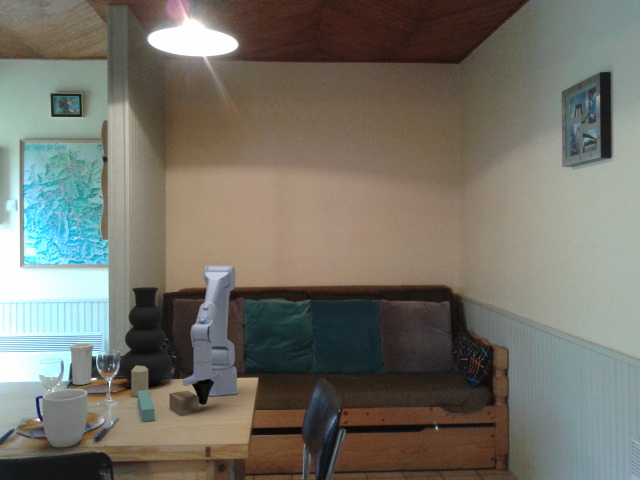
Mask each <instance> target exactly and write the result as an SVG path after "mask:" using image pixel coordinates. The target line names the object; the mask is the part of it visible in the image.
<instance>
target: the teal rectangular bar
mask: <svg viewBox="0 0 640 480" xmlns="http://www.w3.org/2000/svg"><path fill="white" fill-rule="evenodd" d="M137 405H138V409H139V414H140V418H141V422H142V423H145V422H152V421H153V422H154V421H155V406H154V403H153V400H152V397H151V394H150V390H149V389H148V390H143V391H138V397H137Z"/></svg>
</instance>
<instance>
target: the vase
mask: <svg viewBox="0 0 640 480" xmlns="http://www.w3.org/2000/svg"><path fill="white" fill-rule="evenodd" d="M158 290H159V287H154V286H151V287H150V286H149V287H148V286H145V287H142V286H141V287H133V288H132V292H133V293H134V301H135V302H134V303H135V306H134V305H133V307H132V309H130V311H129V313H128V321H129V323H130V325H131V326H132V327H131V328H130V329H129V330H128V331H127V332H126V334H125V337H124V342H125V344H126V346H127V347H128V348H129V349H131V350H129V351H127V352H126V353H125V354H124V355H123V356H122V357H121V359H120V361H119V364H120V368H119V367H118V368H119V369H118V370H119V372H120V374H121V376H122V377H123V378H124V379H126V380H127V381H129V384H130V383H131V370H132V369H133V368H134V367H135V366H136V365H137V366H145V367H146V368H147V369H148V387H149V386H154V385H158V384H160V383H162V380H163V379H164V378H165V377H166V376H167V375H168V374H169V372H170V370H171V369H172V358H171V356H170V355H169V353H168V352H167V351H165V350H163V349H162V348H161V347H163V345H164V344H165V342H166V336H167V335H166V332H165V331H164V330H163V328H161V327H160V326H159V324H160V323H161V322H162V319H163V312H162V310H161V309H160V308H159V307H158V305H156V296H157V292H158Z"/></svg>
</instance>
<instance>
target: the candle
mask: <svg viewBox="0 0 640 480" xmlns="http://www.w3.org/2000/svg"><path fill="white" fill-rule="evenodd" d="M130 385H131V386H130V387H131V391H130V393H131V396H132V397H134V398H138V391H143V390H149V386H148V369H147V368H146V367H145V366H137V365H136V366H135V367H134V368H133V369H132V370H131V384H130Z"/></svg>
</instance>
